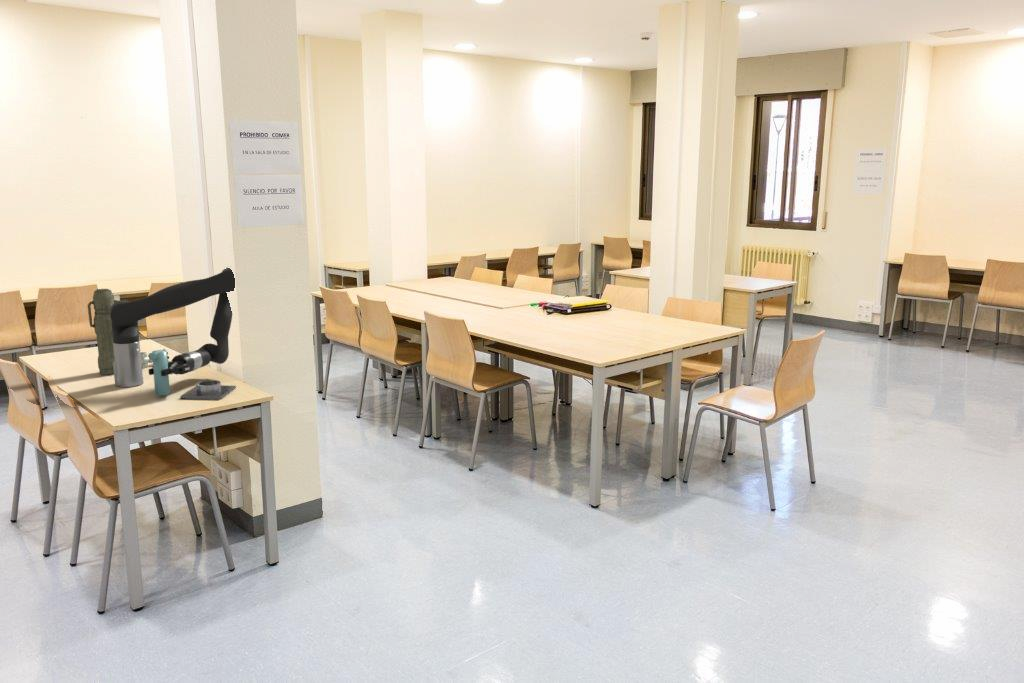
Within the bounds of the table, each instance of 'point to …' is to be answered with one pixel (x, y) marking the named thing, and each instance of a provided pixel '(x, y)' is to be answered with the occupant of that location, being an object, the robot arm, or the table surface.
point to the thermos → (103, 329)
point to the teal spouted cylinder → (158, 365)
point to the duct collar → (208, 390)
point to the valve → (147, 359)
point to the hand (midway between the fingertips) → (155, 372)
